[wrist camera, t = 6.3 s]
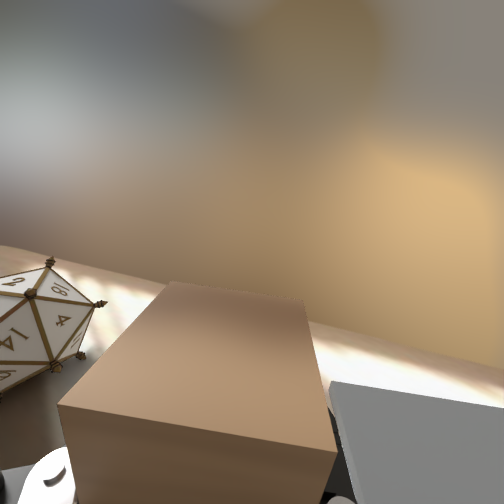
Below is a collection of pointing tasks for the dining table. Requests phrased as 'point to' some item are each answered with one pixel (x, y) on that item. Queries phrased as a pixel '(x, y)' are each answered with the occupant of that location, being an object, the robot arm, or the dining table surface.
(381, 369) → the dining table surface
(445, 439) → the rubber mat
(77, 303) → the game die
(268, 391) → the walnut block
